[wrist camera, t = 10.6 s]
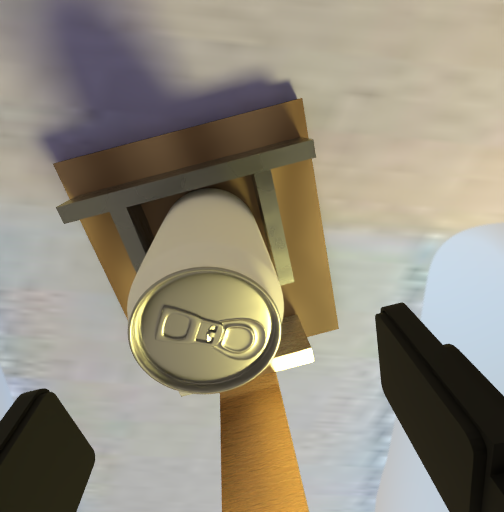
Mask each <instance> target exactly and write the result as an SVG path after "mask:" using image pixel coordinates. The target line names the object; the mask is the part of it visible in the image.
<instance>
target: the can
mask: <svg viewBox="0 0 504 512" xmlns="http://www.w3.org/2000/svg"><path fill="white" fill-rule="evenodd" d="M127 314H128V321H129V323H128V340H129V345H130V349H131V351H132V354H133V356H134V358H135V360H136V361H137V363H138V364H139V365H140V367H141V368H142V369H143V370H144V371H145V372H146V373H147V374H148V375H149V376H150V377H152V378H153V379H154V380H156V381H157V382H159V383H161V384H163V385H165V386H167V387H169V388H171V389H174V390H177V391H181V392H186V393H192V394H214V393H221V392H225V391H229V390H232V389H235V388H238V387H240V386H242V385H244V384H246V383H248V382H250V381H251V380H253V379H254V378H256V377H257V376H258V375H259V374H260V373H262V372H263V371H264V370H265V369H266V367H267V366H268V365H269V364H270V362H271V361H272V360H273V358H274V356H275V354H276V352H277V350H278V347H279V344H280V340H281V333H282V326H281V324H282V320H283V314H284V301H283V294H282V290H281V286H280V283H279V280H278V277H277V274H276V272H275V269H274V266H273V264H272V261H271V259H270V256H269V253H268V251H267V248H266V246H265V243H264V241H263V238H262V236H261V233H260V230H259V228H258V226H257V223H256V221H255V218H254V216H253V214H252V212H251V211H250V209H249V208H248V206H247V205H246V204H245V203H244V202H243V201H242V200H241V199H240V198H238V197H237V196H235V195H234V194H232V193H230V192H227V191H224V190H221V189H215V188H204V189H198V190H195V191H192V192H190V193H188V194H186V195H184V196H182V197H181V198H180V199H179V200H177V201H176V202H175V203H174V205H173V206H172V207H171V208H170V210H169V212H168V213H167V215H166V217H165V219H164V221H163V223H162V224H161V226H160V228H159V230H158V232H157V234H156V236H155V238H154V240H153V242H152V244H151V246H150V248H149V250H148V252H147V254H146V256H145V258H144V260H143V262H142V264H141V266H140V268H139V270H138V272H137V274H136V276H135V279H134V281H133V283H132V286H131V289H130V293H129V297H128V303H127Z"/></svg>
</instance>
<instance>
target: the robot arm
mask: <svg viewBox="0 0 504 512" xmlns="http://www.w3.org/2000/svg"><path fill="white" fill-rule="evenodd" d="M375 321H376V331H377V342H378V353H379V363H380V374H381V384H382V388H383V391H384V394H385V396H386V398H387V400H388V402H389V403H390V405H391V407H392V409H393V411H394V412H395V414H396V416H397V418H398V420H399V421H400V423H401V425H402V427H403V429H404V430H405V432H406V434H407V436H408V438H409V439H410V441H411V443H412V445H413V447H414V449H415V450H416V452H417V454H418V456H419V458H420V459H421V461H422V463H423V465H424V467H425V468H426V470H427V472H428V474H429V475H430V477H431V479H432V481H433V483H434V485H435V486H436V488H437V490H438V492H439V494H440V495H441V497H442V499H443V501H444V502H445V504H446V506H447V508H448V510H449V512H504V396H503V395H502V394H501V393H500V392H499V391H498V390H497V389H496V388H495V387H494V386H493V385H492V384H491V383H490V382H489V381H488V380H487V378H486V377H485V376H484V375H483V374H482V373H481V372H480V371H479V370H478V369H477V368H476V367H475V366H474V365H473V364H472V363H471V362H470V361H469V360H468V359H467V358H466V357H465V356H464V355H463V354H462V353H461V352H460V351H459V350H458V349H457V348H456V347H455V346H454V345H451V344H445V345H442V344H441V343H440V341H439V340H438V339H437V338H436V337H435V336H434V335H433V334H432V333H431V332H430V331H429V330H428V328H427V327H425V325H424V324H423V323H422V322H421V321H420V320H419V319H418V318H417V316H416V315H415V314H414V313H413V312H412V311H411V310H410V309H409V308H408V307H407V306H406V305H405V304H404V303H398V304H394V305H389V306H385V307H382V308H381V313H379V314H376V316H375ZM94 463H95V453H94V450H93V448H92V447H91V446H90V444H89V443H88V441H87V440H86V438H85V437H84V435H83V434H82V432H81V431H80V430H79V428H78V427H77V425H76V424H75V422H74V421H73V419H72V418H71V416H70V415H69V414H68V412H67V411H66V409H65V408H64V406H63V405H62V403H61V402H60V400H59V399H58V398H57V396H56V395H55V394H54V393H53V392H50V391H49V390H47V389H38V390H34V391H30V392H26V393H23V394H21V395H20V396H19V397H18V398H17V399H16V401H15V402H14V403H13V405H12V406H11V407H10V409H9V410H8V411H7V413H6V414H5V416H4V417H3V419H2V420H1V421H0V512H76V511H77V509H78V506H79V503H80V501H81V498H82V495H83V493H84V490H85V487H86V485H87V482H88V479H89V477H90V474H91V471H92V469H93V466H94Z"/></svg>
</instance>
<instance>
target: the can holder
mask: <svg viewBox="0 0 504 512" xmlns="http://www.w3.org/2000/svg"><path fill="white" fill-rule="evenodd" d="M315 157H316V154H315V148H314V141H313V139H309V138H304V137H298V138H294V139H290V140H286V141H282V142H279V143H275V144H271V145H267V146H264V147H260V148H256V149H252V150H248V151H245V152H241V153H237V154H233V155H229V156H226V157H222V158H218V159H214V160H210V161H207V162H203V163H199V164H195V165H192V166H188V167H184V168H180V169H176V170H173V171H169V172H165V173H161V174H157V175H154V176H150V177H146V178H142V179H139V180H135V181H131V182H127V183H123V184H120V185H116V186H112V187H108V188H104V189H101V190H97V191H93V192H89V193H85V194H82V195H78V196H75V197H74V198H72V199H70V200H68V201H66V202H65V203H63V204H61V205H59V206H57V207H56V209H57V211H58V213H59V215H60V217H61V219H62V221H63V223H64V224H65V223H69V222H73V221H77V220H81V219H84V218H88V217H92V216H96V215H99V214H103V213H107V212H110V214H111V217H112V219H113V221H114V223H115V226H116V228H117V230H118V233H119V235H120V237H121V239H122V242H123V244H124V246H125V249H126V251H127V253H128V255H129V258H130V260H131V262H132V265H133V267H134V269H135V272H136V274H137V272H138V270H139V268H140V266H141V264H142V262H143V260H144V258H145V256H146V254H147V252H148V250H149V248H150V246H151V244H152V242H153V240H154V236H153V234H152V231H151V229H150V226H149V224H148V221H147V219H146V216H145V213H144V211H143V208H142V206H141V203H145V202H149V201H153V200H156V199H160V198H164V197H168V196H171V195H175V194H179V193H183V192H187V191H190V190H194V189H198V188H202V187H206V186H209V185H213V184H217V183H221V182H224V181H228V180H232V179H236V178H240V177H243V176H247V175H251V177H252V182H253V186H254V190H255V194H256V198H257V203H258V207H259V211H260V215H261V219H262V223H263V228H264V232H265V236H266V240H267V244H268V249H269V253H270V257H271V261H272V264H273V266H274V269H275V272H276V274H277V277H278V280H279V283H280V286H281V285H285V284H289V283H292V282H294V277H293V272H292V268H291V263H290V258H289V253H288V249H287V244H286V239H285V235H284V230H283V225H282V220H281V216H280V211H279V206H278V202H277V197H276V192H275V187H274V183H273V178H272V173H271V169H274V168H278V167H281V166H285V165H289V164H293V163H296V162H300V161H304V160H308V159H312V158H315Z"/></svg>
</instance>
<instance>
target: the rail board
mask: <svg viewBox="0 0 504 512" xmlns="http://www.w3.org/2000/svg"><path fill="white" fill-rule="evenodd" d="M298 137H304V138H308V132H307V126H306V120H305V113H304V107H303V101H302V98H300V99H296V100H293V101H289V102H285V103H281V104H277V105H274V106H270V107H266V108H262V109H258V110H255V111H251V112H247V113H243V114H240V115H236V116H232V117H228V118H224V119H221V120H217V121H213V122H209V123H205V124H202V125H198V126H194V127H190V128H186V129H183V130H179V131H175V132H171V133H168V134H164V135H160V136H156V137H152V138H149V139H145V140H141V141H137V142H133V143H130V144H126V145H122V146H118V147H114V148H111V149H107V150H103V151H99V152H96V153H92V154H88V155H84V156H80V157H77V158H73V159H69V160H65V161H61V162H58V163H54V164H53V165H54V167H55V169H56V171H57V173H58V175H59V177H60V180H61V182H62V184H63V186H64V188H65V190H66V192H67V194H68V196H69V198H70V199H72V198H74V197H75V196H78V195H82V194H85V193H89V192H93V191H97V190H101V189H104V188H108V187H112V186H116V185H120V184H123V183H127V182H131V181H135V180H139V179H142V178H146V177H150V176H154V175H157V174H161V173H165V172H169V171H173V170H176V169H180V168H184V167H188V166H192V165H195V164H199V163H203V162H207V161H210V160H214V159H218V158H222V157H226V156H229V155H233V154H237V153H241V152H245V151H248V150H252V149H256V148H260V147H264V146H267V145H271V144H275V143H279V142H282V141H286V140H290V139H294V138H298ZM271 173H272V178H273V183H274V187H275V192H276V197H277V202H278V206H279V211H280V216H281V220H282V225H283V230H284V235H285V239H286V244H287V249H288V253H289V258H290V263H291V268H292V272H293V277H294V282H292V283H289V284H285V285H281V290H282V294H283V301H284V314H283V318H285V317H289V316H293V315H296V314H297V315H298V317H299V320H300V322H301V325H302V327H303V329H304V332H305V334H306V337H309V336H313V335H317V334H320V333H324V332H328V331H332V330H336V329H339V327H338V321H337V315H336V308H335V302H334V296H333V290H332V283H331V277H330V271H329V264H328V258H327V252H326V245H325V239H324V233H323V227H322V220H321V214H320V208H319V201H318V195H317V189H316V183H315V176H314V170H313V164H312V159H308V160H304V161H300V162H296V163H293V164H289V165H285V166H281V167H278V168H274V169H271ZM204 188H215V189H221V190H224V191H227V192H230V193H232V194H234V195H235V196H237V197H238V198H240V199H241V200H242V201H243V202H244V203H245V204H246V205H247V206H248V208H249V209H250V211H251V212H252V214H253V216H254V218H255V221H256V223H257V226H258V228H259V230H260V233H261V236H262V238H263V241H264V243H265V246H266V248H267V251H268V253H269V249H268V244H267V240H266V236H265V232H264V228H263V223H262V219H261V215H260V211H259V207H258V203H257V198H256V194H255V190H254V186H253V182H252V177H251V175H247V176H243V177H240V178H236V179H232V180H228V181H224V182H221V183H217V184H213V185H209V186H206V187H202V188H198V189H204ZM198 189H194V190H190V191H187V192H183V193H179V194H175V195H171V196H168V197H164V198H160V199H156V200H153V201H149V202H145V203H141V206H142V208H143V211H144V213H145V216H146V219H147V221H148V224H149V226H150V229H151V231H152V234H153V236H154V238H155V236H156V234H157V232H158V230H159V228H160V226H161V224H162V223H163V221H164V219H165V217H166V215H167V213H168V212H169V210H170V208H171V207H172V206H173V205H174V203H175V202H176V201H177V200H179V199H180V198H181V197H182V196H184V195H186V194H188V193H190V192H192V191H195V190H198ZM80 221H81V223H82V225H83V227H84V230H85V232H86V234H87V236H88V238H89V240H90V242H91V244H92V246H93V248H94V250H95V252H96V255H97V257H98V259H99V261H100V263H101V265H102V267H103V269H104V271H105V273H106V275H107V277H108V280H109V282H110V284H111V286H112V288H113V290H114V292H115V294H116V296H117V298H118V300H119V302H120V304H121V307H122V309H123V311H124V313H125V315H126V317H127V319H128V314H127V303H128V297H129V293H130V289H131V286H132V283H133V281H134V279H135V276H136V272H135V269H134V267H133V265H132V262H131V260H130V258H129V255H128V253H127V251H126V249H125V246H124V244H123V242H122V239H121V237H120V235H119V233H118V230H117V228H116V226H115V223H114V221H113V219H112V217H111V214H110V212H107V213H103V214H99V215H96V216H92V217H88V218H84V219H81V220H80ZM269 256H270V253H269ZM270 259H271V257H270Z"/></svg>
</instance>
